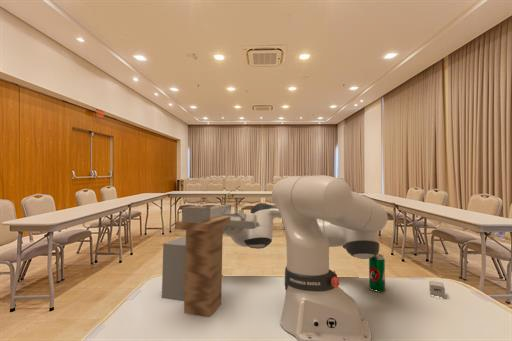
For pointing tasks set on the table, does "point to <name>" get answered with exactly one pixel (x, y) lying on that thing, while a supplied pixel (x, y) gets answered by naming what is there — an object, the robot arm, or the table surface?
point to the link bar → (203, 213)
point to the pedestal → (174, 269)
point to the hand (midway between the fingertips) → (224, 211)
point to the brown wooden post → (203, 265)
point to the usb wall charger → (437, 289)
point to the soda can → (377, 273)
